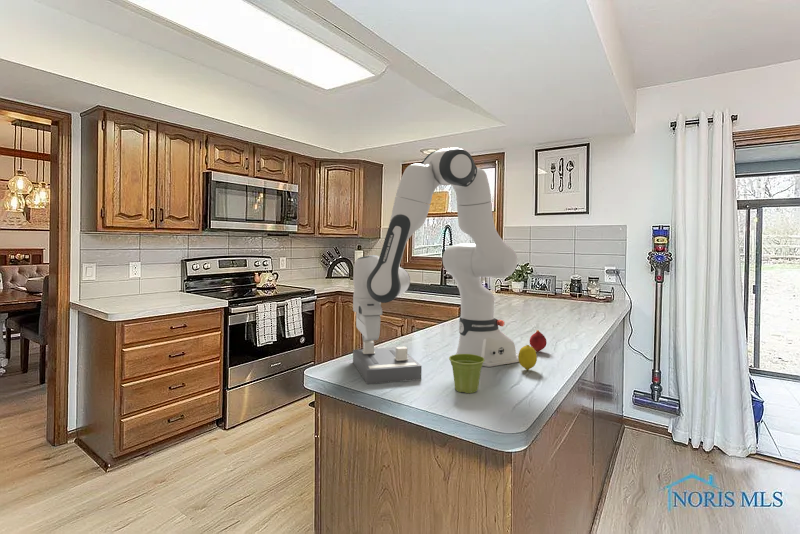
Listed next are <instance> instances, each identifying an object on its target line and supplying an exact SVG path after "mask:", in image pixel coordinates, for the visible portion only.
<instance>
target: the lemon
mask: <svg viewBox="0 0 800 534" xmlns="http://www.w3.org/2000/svg"><path fill="white" fill-rule="evenodd" d="M518 354H519V355H518V360H519V362H518V363H519V365H520V367H522V368H524V369H525V370H526V371H528V370H530V369H532V368H534V366H536V363H537V360H538V359H537V357H538V355H537V352H536V351H535V350H534V348H532V347H531V345H530V344H526V345H524V346H523V347H521V348H520V350H519V351H518Z"/></svg>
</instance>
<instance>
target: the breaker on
mask: <svg viewBox="0 0 800 534" xmlns="http://www.w3.org/2000/svg"><path fill="white" fill-rule="evenodd" d="M395 347H396V351H395V357H394V359H395V360H396V361H403V360H409V359H408V358H407V354H408V347H407V346H395Z"/></svg>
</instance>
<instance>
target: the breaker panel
mask: <svg viewBox="0 0 800 534" xmlns="http://www.w3.org/2000/svg"><path fill="white" fill-rule="evenodd" d="M396 347H397V346H393V347H378V348H376V347H375V348H374V352H375V354H363V352H362V351H363V348H362V349H353V350H352V363H353V365H354V366H355V367H356V369H357V371H358V372H359V374H360V375H361V377H362V379H363V380H364V382H365V384H366V385H374V384H385V383H397V382H408V381H418V380H422V365H421V364H420V363H419V362H418V361H417V360H415V358H413V357H412V356H411V355H410V354H408V353H407V358H408V359H409V360H403V361H396V360H395V359H394V357H395V351H396Z"/></svg>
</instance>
